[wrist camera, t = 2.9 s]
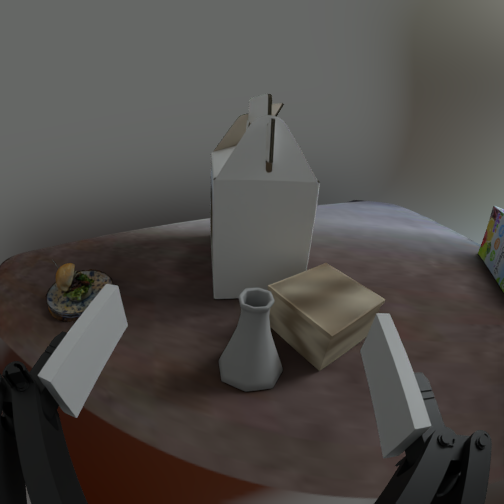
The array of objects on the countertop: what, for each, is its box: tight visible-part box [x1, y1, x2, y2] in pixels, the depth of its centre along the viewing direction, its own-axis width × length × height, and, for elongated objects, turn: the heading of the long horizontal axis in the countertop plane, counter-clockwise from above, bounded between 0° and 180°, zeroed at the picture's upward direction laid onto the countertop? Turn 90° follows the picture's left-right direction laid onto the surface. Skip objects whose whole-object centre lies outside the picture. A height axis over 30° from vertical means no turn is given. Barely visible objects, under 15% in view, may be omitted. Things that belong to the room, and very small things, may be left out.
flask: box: [219, 288, 283, 392], centre depth 27 cm, size 7×7×10 cm
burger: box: [46, 262, 112, 322], centre depth 36 cm, size 12×12×8 cm
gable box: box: [210, 94, 320, 299], centre depth 44 cm, size 22×13×28 cm, turn 9°
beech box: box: [268, 263, 385, 371], centre depth 34 cm, size 10×10×6 cm
